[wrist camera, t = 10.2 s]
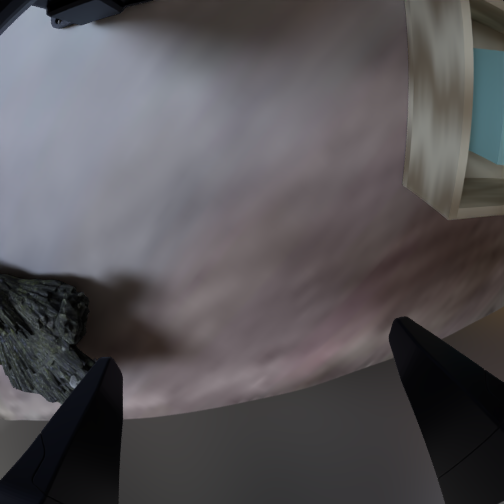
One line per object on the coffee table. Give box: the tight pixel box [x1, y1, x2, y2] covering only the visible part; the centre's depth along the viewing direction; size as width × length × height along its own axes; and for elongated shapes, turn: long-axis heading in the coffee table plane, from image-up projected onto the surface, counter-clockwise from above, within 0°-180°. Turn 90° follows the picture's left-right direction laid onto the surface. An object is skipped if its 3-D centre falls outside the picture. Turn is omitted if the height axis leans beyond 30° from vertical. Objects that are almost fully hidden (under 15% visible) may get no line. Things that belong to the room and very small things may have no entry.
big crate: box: [402, 0, 504, 220], centre depth 14 cm, size 14×14×6 cm
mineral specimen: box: [0, 274, 97, 404], centre depth 19 cm, size 15×13×10 cm
